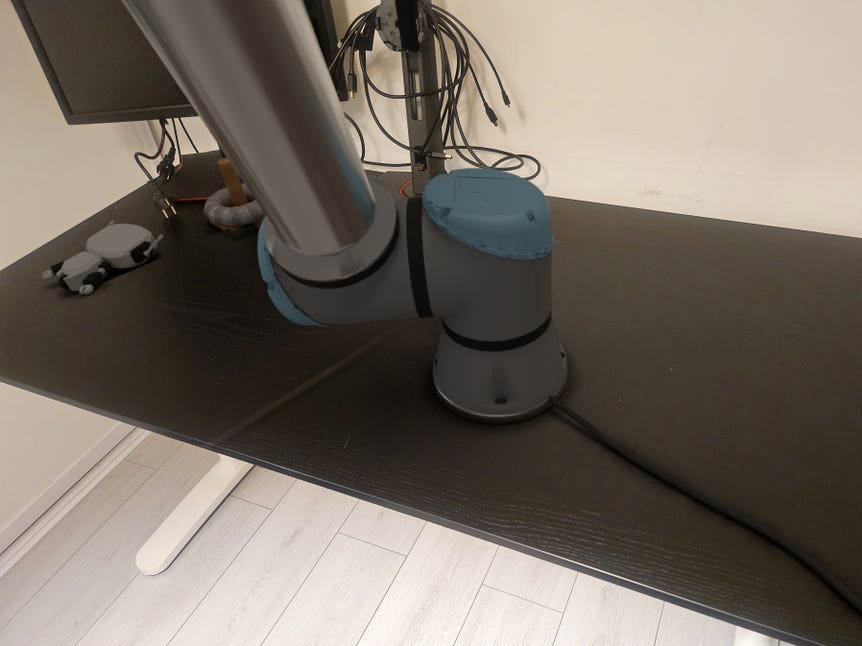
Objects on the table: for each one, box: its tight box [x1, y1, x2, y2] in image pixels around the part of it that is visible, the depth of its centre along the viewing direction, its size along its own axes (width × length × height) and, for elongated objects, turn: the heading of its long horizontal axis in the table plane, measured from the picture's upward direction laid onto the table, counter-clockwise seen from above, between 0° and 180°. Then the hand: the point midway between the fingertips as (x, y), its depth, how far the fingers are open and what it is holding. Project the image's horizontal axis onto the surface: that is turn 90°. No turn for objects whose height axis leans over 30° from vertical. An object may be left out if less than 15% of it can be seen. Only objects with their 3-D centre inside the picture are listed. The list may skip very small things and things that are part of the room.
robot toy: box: [41, 220, 164, 295], centre depth 93 cm, size 12×4×15 cm
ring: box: [203, 182, 265, 226], centre depth 102 cm, size 12×12×3 cm
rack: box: [208, 156, 265, 231], centre depth 101 cm, size 9×9×10 cm
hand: (368, 64), depth 75 cm, fingers open, 13 cm apart
